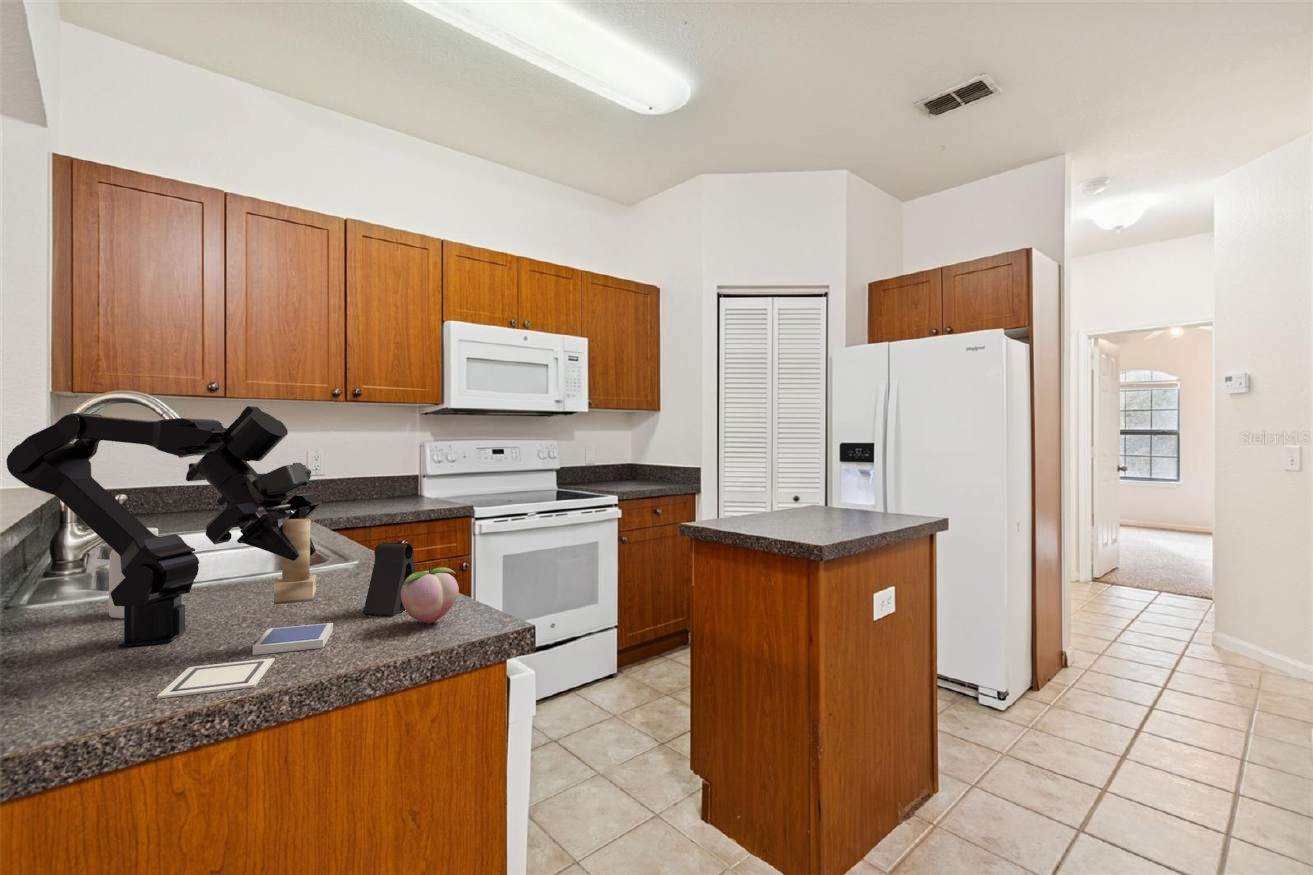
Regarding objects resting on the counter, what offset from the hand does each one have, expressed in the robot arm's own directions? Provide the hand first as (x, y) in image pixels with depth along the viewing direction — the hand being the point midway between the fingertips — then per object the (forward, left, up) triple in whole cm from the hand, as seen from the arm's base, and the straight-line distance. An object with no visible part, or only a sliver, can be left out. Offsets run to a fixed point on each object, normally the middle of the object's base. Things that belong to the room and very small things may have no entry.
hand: (305, 556), depth 93 cm
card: (-7, -12, -13) cm, 19 cm away
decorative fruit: (+18, +4, -13) cm, 22 cm away
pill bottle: (-31, +29, -13) cm, 45 cm away
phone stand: (+12, +16, -13) cm, 24 cm away
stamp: (-1, +1, -7) cm, 7 cm away
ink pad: (-1, +1, -13) cm, 13 cm away
